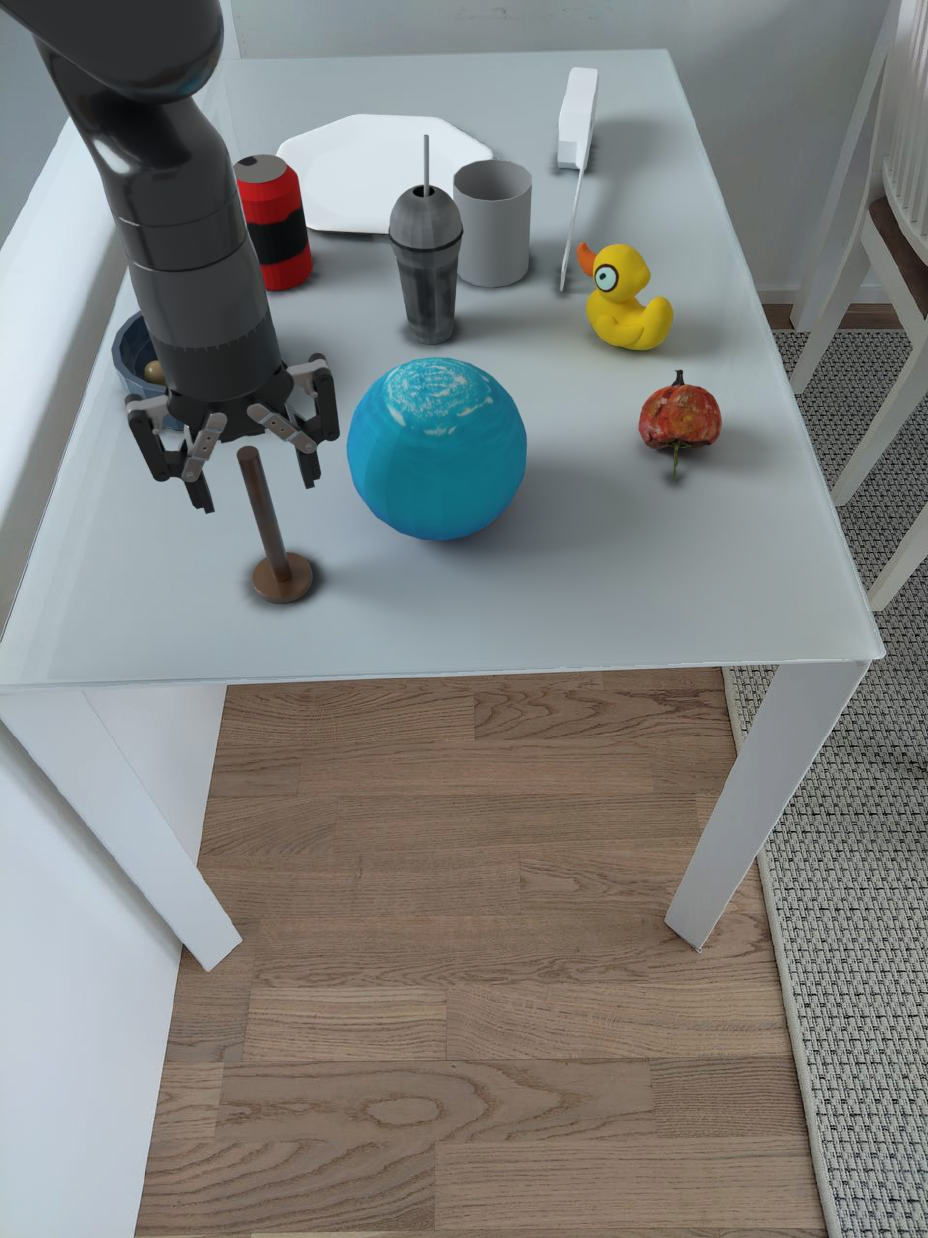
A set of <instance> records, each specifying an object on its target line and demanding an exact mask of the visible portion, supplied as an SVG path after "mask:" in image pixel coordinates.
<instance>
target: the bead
mask: <svg viewBox="0 0 928 1238" xmlns="http://www.w3.org/2000/svg"><path fill="white" fill-rule="evenodd" d="M144 379H145V381H146V382H148V383H152V384H157V385H161V386H167V383H166V380H165V377H164V374H163V372H162V369H161V366H160V363H159V361H158V360H157V361H152V362H150V363H149V364H147V365H146V367H145V369H144Z"/></svg>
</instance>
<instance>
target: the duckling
mask: <svg viewBox="0 0 928 1238" xmlns="http://www.w3.org/2000/svg"><path fill="white" fill-rule="evenodd" d="M576 259H577V263H578V265H579V267H580V269H581V271H583V273H585V275H586V276H588V277H591V278H593V282H594V286H595V290H593V291H592V292H591V293H590V295H589V296H588V297H587V300H586V305H585V314H586V317H587V320H588V322H589V323H590V325H591V327H592V328H593V330H594V332H596V334H597V335H598V337H599V339H601V340H602V341H603V342H605V343H607V344H609V345H611V346H613V347H621V348H624V349H628V350H634V351H647V350H651V349H654V348H656V347H658V346H660V345H661V344H662V343H663V342H664V341H665V340H666V338H667V337H668V334H669V333H670V330H671V327H672V325H673V319H674V309H673V307H672V304H671V302H670V301H669V300H668V299H667V297H665V296H661V295H660V296H656V297H654V298H652V299H651V300H650V301H649V302H648V304H647V306H645V305H642V304H641V303H640V301H639V300H638V299H637V298H636V296H637V295H638V294H639V293H640V292H641V291H642V290H644V289H645V288H646V287H647V285H648V284H649V283H650V281H651V271H650V269H649V267H648V265H647V263H646V261H645V259H644V258H643V256H642V255H641V253H640V252H639V251H638V250H637V249H636V248H634V247H632V246H630V245H628V244H624V243H615V244H610V245H608V246H605V247H604V248H603V249H601V250H600V251H599V252H598V254H596V253H595V252H593V251H592V250H591V249H590V247H588V244H587V243H586V242H585V241H582V242H581V243H579V244H578V246H577V249H576Z"/></svg>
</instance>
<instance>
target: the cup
mask: <svg viewBox="0 0 928 1238" xmlns="http://www.w3.org/2000/svg"><path fill="white" fill-rule="evenodd" d="M532 178H533V175H532V174H531V173H530V172H529V171H528V170H527V168H526V167H525V166H523V165H520V164H518V163H515V162H514V161H511V160H505V159H495V158H493V159H489V160H481V161H475V162H472V163H470V164H467V165H465V166H462V167H461V168H460V169H459V170H458V171H457V172H456V173H455V174H454V175H453V201H454V202H455V204H456V205H457V207H458V209H459V212H460V216H461V222H462V225H463V231H464V233H463V235H462V242H461V247H460V251H459V255H458V270H457V276H458V277H459V278H461V280H463V281H465V282H466V283H469V284H471V285H473V286H476V287H482V288H483V287H484V288H491V289H493V288H501V287H507V286H510V285H513V284H514V283H516V282H519V281H520V280H522V279H523V278H524V276H525V275H526V274H527V272H528V271H529V261H530V260H529V258H530V238H531V237H530V236H531V216H532V215H531V213H532V212H531V211H532V192H533V183H532V182H533V179H532Z"/></svg>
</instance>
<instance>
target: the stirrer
mask: <svg viewBox="0 0 928 1238" xmlns="http://www.w3.org/2000/svg"><path fill="white" fill-rule="evenodd" d="M236 459H237V462H238V465H239V470H240V472H241V476H242V479H243V483H244V486H245V489H246V493H247V496H248V499H249V503H250V507H251V509H252V512H253V517H254V519H255V523H256V526H257V530H258V532H259V537H260V539H261V543H262V546H263V550H264V552H265V556H266V557H264V558H262V559H261V560H260V561H259V562H258V563H257V565H255V567H254V569H253V572H252V577H251V579H252V580H251V581H252V585H253V588H254V590H255V592H256V594H257V595H258V596H259V598H261V599H263V600H264V601H266V602H268V603H272V604H288V603H291V602H295V601H296V600H299V599H301V598H302V597H303V596H305V595H306V593H308V591H309V590H310V588H311V586H312V585H313V580H314V575H313V570H312V566H311V564H310V562H309V561H308V560H307V558H305V557H304V556H303V555H301V554H299V553H295V552H291V551H286V547H285V543H284V539H283V536H282V533H281V529H280V525H279V521H278V517H277V514H276V511H275V505H274V502H273V499H272V495H271V491H270V488H269V485H268V480H267V477H266V474H265V470H264V469H265V468H264V466H263V462H262V458H261V454H260V452H259V449H258V448H257V447H256V446H254V445H243V446H241V447H240V448H239V449H238V450H237V452H236Z"/></svg>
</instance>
